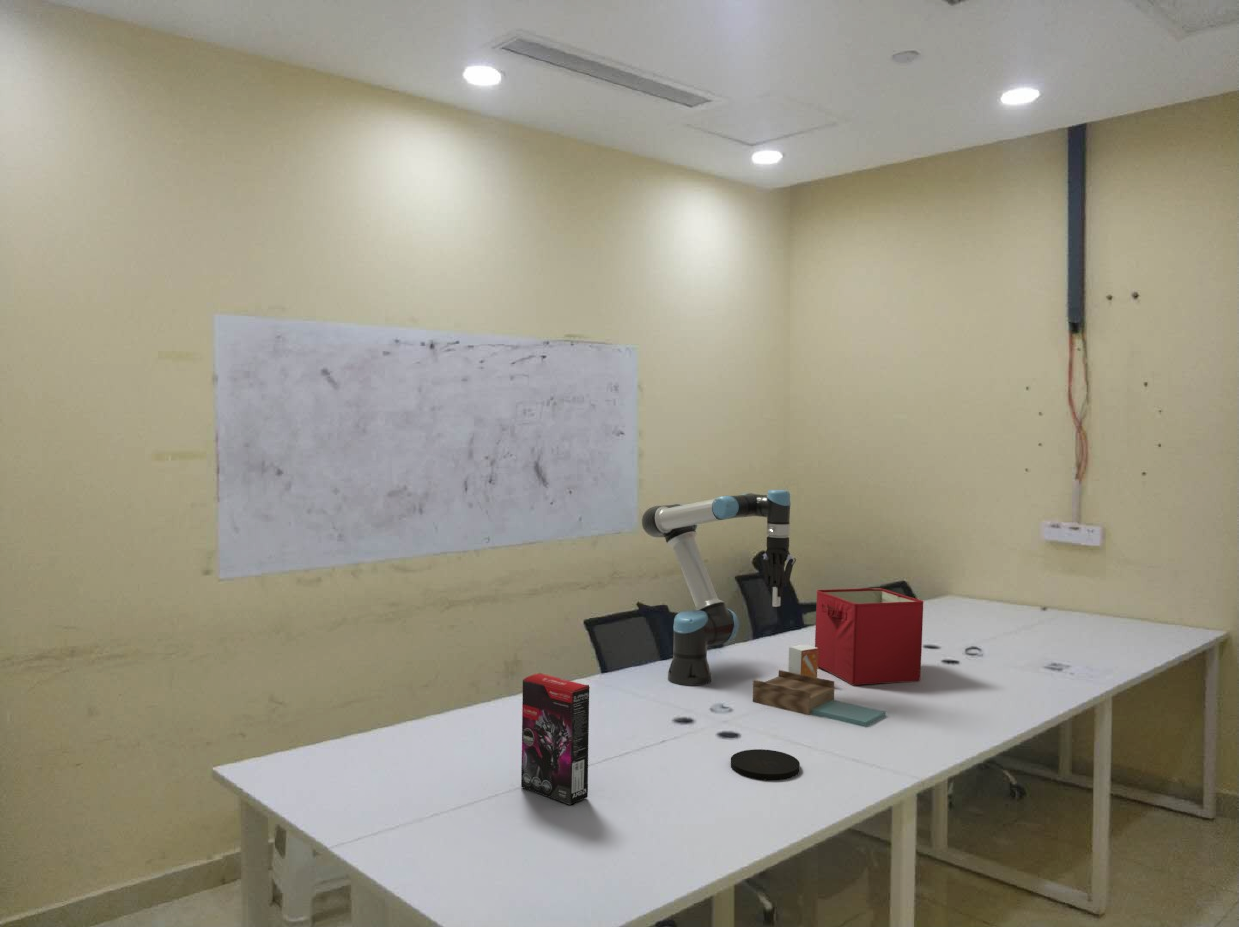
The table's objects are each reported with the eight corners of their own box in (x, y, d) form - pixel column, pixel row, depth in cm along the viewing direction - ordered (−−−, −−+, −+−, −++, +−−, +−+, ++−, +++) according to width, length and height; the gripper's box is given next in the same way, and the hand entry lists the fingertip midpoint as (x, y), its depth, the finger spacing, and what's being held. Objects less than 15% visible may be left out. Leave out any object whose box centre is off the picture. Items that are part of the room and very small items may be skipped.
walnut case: (752, 701, 301) (753, 680, 300) (779, 690, 314) (780, 669, 313) (808, 715, 288) (808, 692, 288) (833, 702, 301) (834, 681, 301)
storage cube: (881, 661, 355) (883, 586, 353) (927, 681, 329) (929, 599, 327) (806, 667, 345) (808, 589, 343) (847, 687, 318) (849, 603, 317)
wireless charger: (753, 751, 256) (753, 744, 256) (811, 767, 245) (812, 760, 245) (717, 769, 242) (717, 762, 242) (777, 787, 231) (777, 779, 231)
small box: (800, 688, 317) (801, 650, 316) (787, 683, 322) (788, 646, 321) (817, 685, 321) (818, 647, 321) (804, 680, 326) (805, 643, 326)
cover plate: (811, 715, 289) (811, 709, 289) (832, 705, 300) (832, 699, 300) (865, 728, 277) (865, 722, 277) (885, 717, 288) (885, 711, 288)
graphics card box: (518, 787, 227) (519, 677, 226) (538, 779, 233) (539, 671, 231) (570, 807, 217) (572, 691, 215) (590, 798, 222) (592, 684, 221)
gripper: (755, 535, 314) (753, 604, 315) (789, 538, 306) (787, 610, 307) (767, 533, 320) (765, 601, 321) (800, 537, 311) (799, 607, 312)
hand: (776, 605), depth 314 cm, fingers closed
